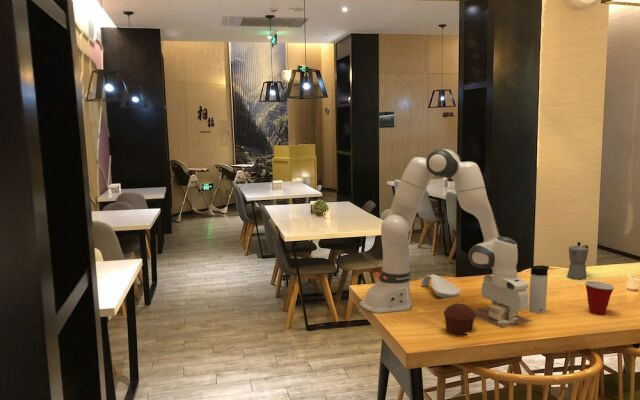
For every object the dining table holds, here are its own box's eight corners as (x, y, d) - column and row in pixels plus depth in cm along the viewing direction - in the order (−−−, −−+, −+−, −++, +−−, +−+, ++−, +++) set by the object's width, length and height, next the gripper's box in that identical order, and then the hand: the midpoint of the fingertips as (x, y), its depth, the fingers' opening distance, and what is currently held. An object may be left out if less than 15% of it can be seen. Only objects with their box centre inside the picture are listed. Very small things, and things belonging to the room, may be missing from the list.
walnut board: (501, 332, 196) (501, 328, 195) (463, 315, 213) (463, 311, 213) (532, 324, 203) (532, 320, 203) (492, 309, 220) (493, 305, 220)
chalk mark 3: (505, 324, 200) (505, 322, 199) (503, 322, 201) (503, 321, 201) (514, 322, 201) (514, 321, 201) (512, 321, 202) (512, 320, 202)
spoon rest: (465, 299, 234) (466, 283, 233) (442, 302, 230) (443, 286, 229) (435, 285, 256) (435, 270, 255) (413, 287, 252) (413, 273, 251)
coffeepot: (579, 281, 259) (581, 245, 257) (560, 277, 267) (562, 242, 264) (595, 276, 268) (597, 241, 266) (577, 272, 276) (579, 238, 273)
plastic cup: (619, 316, 212) (621, 286, 210) (594, 318, 210) (596, 288, 208) (600, 307, 222) (602, 279, 221) (576, 308, 220) (578, 280, 219)
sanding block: (498, 322, 201) (498, 309, 200) (488, 318, 205) (488, 305, 205) (517, 317, 206) (517, 304, 205) (507, 313, 210) (507, 300, 209)
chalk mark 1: (499, 323, 200) (500, 322, 200) (497, 322, 201) (497, 321, 201) (507, 321, 202) (507, 320, 202) (505, 320, 203) (505, 319, 203)
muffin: (436, 329, 198) (437, 303, 197) (456, 323, 205) (457, 298, 203) (462, 339, 189) (462, 312, 187) (482, 333, 195) (483, 306, 194)
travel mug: (544, 318, 210) (547, 268, 207) (527, 315, 213) (529, 266, 211) (547, 313, 215) (550, 265, 212) (530, 310, 218) (532, 262, 216)
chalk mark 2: (510, 321, 202) (510, 319, 202) (507, 320, 203) (507, 318, 203) (517, 319, 204) (517, 318, 204) (515, 318, 205) (515, 317, 205)
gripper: (478, 274, 211) (477, 308, 213) (519, 287, 193) (517, 324, 195) (490, 272, 214) (488, 305, 216) (531, 285, 196) (530, 321, 198)
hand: (503, 314), depth 205 cm, fingers open, 5 cm apart
